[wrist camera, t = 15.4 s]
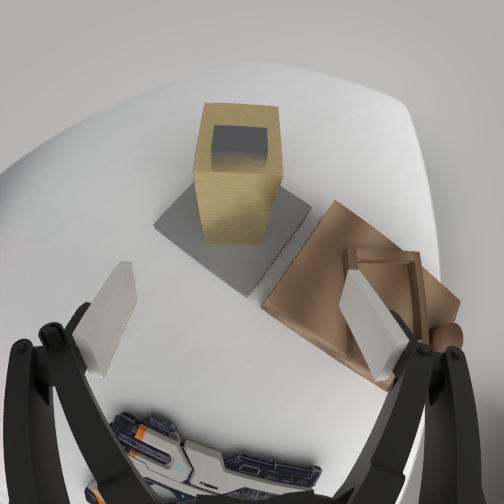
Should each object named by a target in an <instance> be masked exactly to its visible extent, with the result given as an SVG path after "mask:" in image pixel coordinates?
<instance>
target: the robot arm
mask: <svg viewBox="0 0 504 504" xmlns="http://www.w3.org/2000/svg"><path fill="white" fill-rule="evenodd" d="M137 300H138V299H137V294H136V288H135V282H134V275H133V268H132V262H124V261H120V262H119V264H118V265H117V266H116V268H115V269H114V271H113V272H112V274H111V275H110V276H109V278H108V279H107V281H106V282H105V284H104V285H103V287H102V288H101V289H100V291H99V292H98V294H97V295H96V297H95V298H94V300H93V302H92V303H88V302H85V303H84V304H82V305H81V306H80V307H79V308H78V309H77V311H76V312H75V315H73V317H72V318H71V320H70V321H69V323H68V324H67V326H66V327H65V329H64V328H63V326H62V325H61V324H60V323H57V322H52V323H48V324H46V325H44V326H43V327H42V328H41V329H40V331H39V334H38V336H39V338H40V340H41V343H42V345H43V346H36V347H34V346H33V344H32V342H31V341H30V340H28V339H20V340H18V341H16V342H15V343H14V344H13V345H12V348H11V352H10V357H9V364H8V370H7V378H6V387H5V398H4V416H3V447H4V463H5V474H6V482H7V489H8V496H9V504H70V501H69V498H68V494H67V490H66V486H65V482H64V477H63V473H62V468H61V463H60V457H59V451H58V444H57V437H56V429H55V419H54V406H53V386H55V388H56V391H57V394H58V397H59V400H60V403H61V405H62V408H63V411H64V414H65V416H66V419H67V421H68V424H69V426H70V429H71V431H72V433H73V436H74V438H75V440H76V442H77V445H78V447H79V449H80V451H81V453H82V455H83V457H84V459H85V461H86V463H87V465H88V467H89V469H90V471H91V472H92V474H93V476H94V478H95V480H96V482H97V489H98V491H99V493H100V495H101V497H102V498H103V500H104V501H105V503H106V504H164V503H163V502H162V501H161V499H160V498H159V497H158V496H157V495H156V494H155V493H154V491H153V490H152V489H151V488H150V486H149V485H148V484H147V482H146V481H145V480H144V478H143V477H142V476H141V474H140V473H139V471H138V470H137V469H136V467H135V466H134V464H133V463H132V461H131V460H130V458H129V457H128V455H127V454H126V452H125V450H124V449H123V447H122V446H121V444H120V442H119V441H118V439H117V437H116V436H115V434H114V432H113V431H112V429H111V427H110V425H109V423H108V422H107V420H106V418H105V416H104V414H103V412H102V410H101V408H100V407H99V405H98V403H97V401H96V399H95V396H94V394H93V392H92V390H91V388H90V386H89V384H88V381H87V379H86V377H85V375H84V374H85V371H86V369H87V370H88V372H89V374H90V376H93V377H97V378H102V379H104V378H105V375H106V373H107V370H108V367H109V365H110V362H111V360H112V357H113V355H114V353H115V350H116V348H117V345H118V343H119V341H120V338H121V336H122V334H123V331H124V329H125V327H126V324H127V322H128V320H129V318H130V315H131V313H132V311H133V309H134V307H135V304H136V302H137ZM339 308H340V310H341V312H342V314H343V315H344V317H345V319H346V321H347V323H348V325H349V327H350V329H351V331H352V333H353V335H354V337H355V339H356V342H357V344H358V346H359V348H360V350H361V352H362V354H363V356H364V358H365V360H366V362H367V364H368V366H369V369H370V371H371V373H372V375H373V377H374V379H375V381H381V380H386V379H388V378H389V376H390V375H391V373H392V371H393V373H394V375H395V378H394V380H393V381H392V383H391V384H390V386H389V388H388V389H387V390H388V391H389V392H388V394H387V397H386V400H385V402H384V404H383V407H382V409H381V412H380V414H379V416H378V418H377V421H376V423H375V425H374V427H373V429H372V432H371V434H370V436H369V438H368V440H367V442H366V444H365V446H364V448H363V450H362V452H361V454H360V455H359V457H358V459H357V461H356V463H355V465H354V466H353V468H352V470H351V472H350V473H349V475H348V477H347V479H346V480H345V482H344V483H343V485H342V486H341V487H340V488H339V490H338V491H337V492H336V493H335V495H334V496H333V497H332V498H331V497H328V496H324V495H318V494H314V490H306V491H299V492H290V493H284V494H281V495H278V496H275V497H271V498H268V499H264V500H261V501H250V500H245V499H240V498H235V497H230V496H225V495H202V494H196V499H190V500H186V501H182V502H179V503H177V504H395V503H396V500H397V498H398V496H399V494H400V492H401V489H402V487H403V485H404V482H405V475H403V470H404V468H405V465H406V462H407V460H408V457H409V454H410V451H411V448H412V446H413V443H414V440H415V436H416V433H417V430H418V427H419V423H420V420H421V416H422V412H423V408H424V404H425V443H424V461H423V472H422V482H421V489H420V496H419V504H486V501H485V497H484V493H483V490H482V486H481V451H480V437H479V427H478V419H477V412H476V405H475V399H474V394H473V389H472V383H471V379H470V374H469V370H468V366H467V361H466V358H465V355H464V352H463V351H462V350H461V349H460V348H458V347H456V346H448V347H447V348H446V350H445V352H444V353H440V352H434V351H433V349H432V348H431V347H430V346H429V345H427V344H425V343H422V342H418V341H417V339H416V338H415V336H414V335H413V333H412V332H411V331H410V329H409V328H408V327H407V325H406V323H405V322H404V321H403V319H402V318H401V316H400V315H399V314H397V313H396V312H395V311H394V310H388V309H387V307H386V306H385V304H384V303H383V302H382V300H381V299H380V297H379V296H378V295H377V293H376V292H375V291H374V289H373V288H372V287H371V285H370V284H369V282H368V281H367V280H366V278H365V277H364V276H363V274H362V273H361V272H360V271H359V270H348V273H347V277H346V280H345V284H344V288H343V292H342V295H341V299H340V302H339Z"/></svg>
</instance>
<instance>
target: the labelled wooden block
mask: <svg viewBox="0 0 504 504" xmlns="http://www.w3.org/2000/svg"><path fill="white" fill-rule="evenodd" d="M193 177H194V183H195V189H196V195H197V201H198V207H199V213H200V219H201V224H202V230H203V235H204V241H205V244H223V245H248V246H261V243H262V240H263V236H264V233H265V230H266V227H267V224H268V221H269V218H270V215H271V212H272V209H273V205H274V202H275V199H276V196H277V193H278V190H279V187H280V184H281V181H282V177H283V166H282V151H281V136H280V123H279V111H278V107H274V106H263V105H250V104H230V103H205V104H204V109H203V114H202V119H201V125H200V130H199V136H198V141H197V147H196V153H195V159H194V166H193Z"/></svg>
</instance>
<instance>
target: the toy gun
mask: <svg viewBox="0 0 504 504" xmlns="http://www.w3.org/2000/svg"><path fill="white" fill-rule="evenodd" d="M109 425H110V427H111V429H112V431H113V432H114V434H115V436H116V437H117V439H118V441H119V442H120V444H121V446H122V447H123V449H124V450H125V452H126V454H127V455H128V457H129V458H130V460H131V461H132V463H133V464H134V466H135V467H136V469H137V470H138V471H139V473H140V474H141V476H142V477H143V478H144V480H145V481H146V482H147V484H148V485H149V486H151V485H155V484H156V485H159V486H161V487H163V488H165V489H167V490H170V491H171V492H173V494H174V495H175V496H176V498H177V499H178V503H179V502H182V501H186V500H190V499H196V494H202V495H225V496H230V497H235V498H240V499H245V500H250V501H261V500H264V499H268V498H271V497H275V496H278V495H281V494H284V493H290V492H299V491H306V490H313V489H312V488H311V487H313V486H315V484H316V482H317V480H318V478H319V476H320V474H321V472H322V469H321V468H320V467H319V466H313V465H311V466H310V467H309V468H303V467H298V466H293V465H288V464H284V463H279V462H275V461H273V460H270V461H269V462H268V461H266V460H267V459H265V458H262V459H261V460H260V459H257V456H254V455H253V456H252V457H249V456H248V454H247V453H243V454H237V455H235V456H232V457H230V458H228V459H226V460H224V459H223V456H222V454H221V452H220V451H217V450H214V449H211V448H208V447H206V446H203V445H200V444H197V443H195V442H192V441H189V440H186V441H185V443H184V442H182V440H181V439H180V438H181V437H180V433H179V432H178V431H177V428H176V426H175V424H174V423H172V422H170V421H168V420H165V419H163V418H161V417H159V416H157V415H155V414H153V413H150V415H148V414H147V415H146V416H145V418H144V419H143V418H141V417H138V418H136V417H134V416H132V415H130V414H128V413H126V412H123V413H121V414H119V415H116V417H115V419H114V422H113V423H112V422H111V423H110V424H109ZM84 492H85V497H86V500H87V502H89V503H91V504H106V503H105V501H104V500H103V498H102V497H101V495H100V493H99V491H98V489H97V482H96V480H93V481H91V482H89V484H88V487H86V488H85V490H84ZM164 504H177V503H164Z"/></svg>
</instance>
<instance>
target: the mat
mask: <svg viewBox="0 0 504 504" xmlns="http://www.w3.org/2000/svg"><path fill="white" fill-rule="evenodd" d="M311 208H312V207H311V206H309V205H308V204H306V203H305V202H303V201H302V200H300V199H299V198H297V197H296V196H294V195H293V194H291V193H290V192H288V191H287V190H285V189H284V188H282V187H281V186H280V187H279V190H278V193H277V196H276V199H275V202H274V205H273V209H272V212H271V215H270V218H269V221H268V224H267V227H266V230H265V233H264V236H263V240H262V243H261V246H248V245H223V244H205V241H204V235H203V230H202V224H201V219H200V213H199V207H198V201H197V195H196V189H195V183H193V184H192V185H191V186H190V187H189V188H188V189H187V190H186V191H185V192H184V193H183V194H182V195H181V196H180V197H179V198H178V199H177V200H176V201H175V202H174V203H173V204H172V205H171V207H170V208H169V209H168V210H167V211H166V212H165V213H164V214H163V215H162V216H161V217H160V218H159V220H158V221H157V222H156V223H155V224H154V227H155V229H156V230H158V231H159V232H160V233H161V234H163V235H164V236H165V237H166V238H168V239H169V240H170V241H172V242H173V243H174V244H175V245H177V246H178V247H179V248H181V249H182V250H183V251H185V252H186V253H187V254H188V255H190V256H191V257H192V258H194V259H195V260H196V261H198V262H199V263H200V264H202V265H203V266H204V267H206V268H207V269H208V270H210V271H211V272H212V273H214V274H215V275H216V276H218V277H219V278H220V279H222V280H223V281H224V282H226V283H227V284H228V285H230V286H231V287H233V288H234V289H235V290H237V291H238V292H239V293H241V294H242V295H244V296H245V297H246V298H247V297H248V295H249V294H250V293H251V291H252V290H253V289H254V287H255V286H256V285H257V283H258V282H259V280H260V279H261V278H262V276H263V275H264V274H265V272H266V271H267V270H268V268H269V267H270V266H271V264H272V263H273V261H274V260H275V259H276V257H277V256H278V255H279V253H280V252H281V250H282V249H283V248H284V246H285V245H286V243H287V242H288V241H289V239H290V238H291V237H292V235H293V234H294V232H295V231H296V230H297V228H298V227H299V225H300V224H301V223H302V221H303V220H304V218H305V217H306V216H307V214H308V213H309V211H310V210H311Z"/></svg>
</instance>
